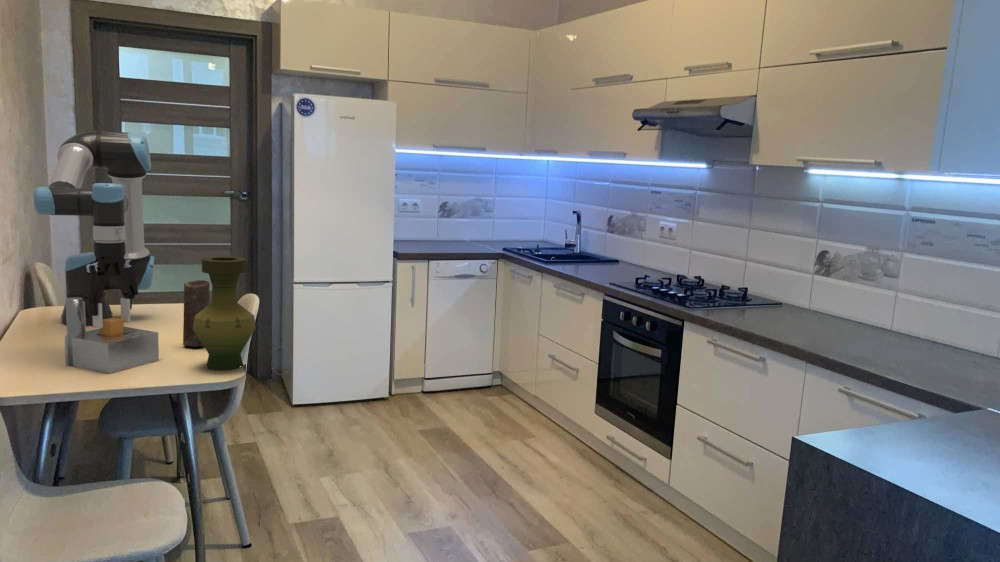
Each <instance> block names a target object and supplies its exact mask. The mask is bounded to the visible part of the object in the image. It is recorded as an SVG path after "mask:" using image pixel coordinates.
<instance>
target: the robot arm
mask: <svg viewBox="0 0 1000 562" xmlns="http://www.w3.org/2000/svg"><path fill="white" fill-rule="evenodd" d="M56 157H57V161H58V162H57V164H56V166H55V169H54V172H53V173H52V174H53V175H52V177H51V179H50V181H49V184H48V186H38V187H36V188H35V190H34V192H33V204H34V209H35V211H36V213H37V214H38V215H44V216H45V215H46V216H52V217H53V216H77V217H78V216H82V217H83V216H84V217H92V222H93V223H92V236H93V237H92V240H94V243H93V251H89V252H81V253H77V254H71V255H70V256H67V258H66V259H65V262H64V263H65V268H64V273H65V290H66V291H65V292H66V296H65V297H66V299H67V298H73V297H82V300H83V301H84V302H85V318H86V326H92V327H93V328H97V329H100V328H103V321H102V320H103V319H108V318H114V316H113V312H112V310H111V307H110V305H109V302H108V299H107V291H120V293H121V294H122V296H123V297H121V298H120V319H123V323H124V322H125V323H131V310H132V308H133V302H132V301H133V299H135V297H136V296H138V295H139V291H143V290H145V291H146V290H148V289H150V288H151V287H152V282H153V274H154V266H155V256H153V255H150V253H151V252H150V250H149V249H148V248H146V247H145V231H144V230H145V229H144V209H143V208H144V207H143V205H144V204H143V186H142V185H143V184H142V181H143V179H145V178H146V177H147V172H148V171H150V170H151V169H152V161H151V155H150V149H149V144H148V140H147V138H146V137H145V135H144V134H141V133H140V134H139V133H132V132H131V131H130V132H125V131H124V132H123V131H122V132H121V131H101V130H100V131H98V130H88V131H87V130H86V131H82V132H79V133H76V134H75V135H73V136H70V137H68V139H66V140H65V141H64V142H63V143H62V144H61V145H60V146H59V149H58V151H57V156H56ZM95 168H96V169H105V170H106V176H108V177H109V178H110V179H111V182H112V183H109V182H97V183H93V184H92V187H91V188H86V187H85V188H83V187H82V186H83V183H84V179H85V177H86V173H87V171H88V170H89V169H95ZM60 322H61V323H62V324H64V325H67V321H66V302H65V304H64V307H63V310H62V313H61V316H60Z"/></svg>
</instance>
